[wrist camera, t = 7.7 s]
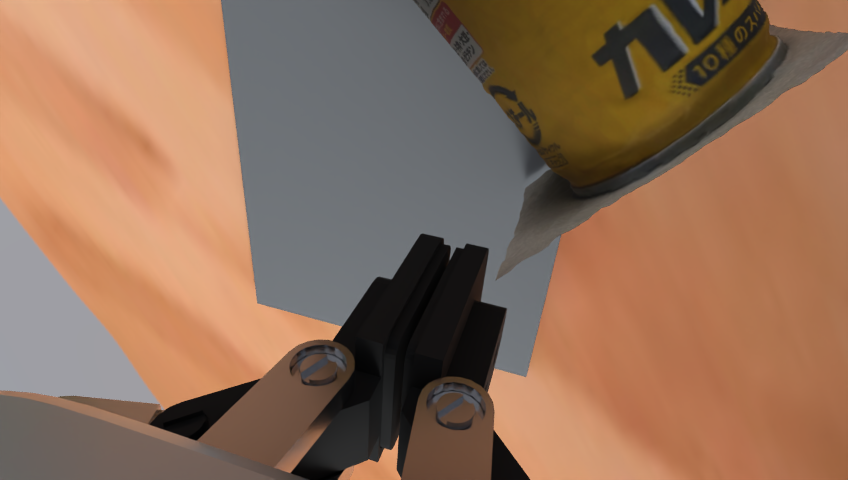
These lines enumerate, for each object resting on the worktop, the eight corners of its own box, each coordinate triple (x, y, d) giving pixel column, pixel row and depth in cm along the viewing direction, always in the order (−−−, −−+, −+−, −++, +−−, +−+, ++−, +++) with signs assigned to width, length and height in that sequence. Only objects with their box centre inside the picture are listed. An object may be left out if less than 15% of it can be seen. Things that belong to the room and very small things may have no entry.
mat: (527, 369, 25) (526, 376, 24) (262, 297, 28) (257, 303, 27) (658, -165, 14) (659, -167, 14) (208, -187, 17) (198, -190, 17)
